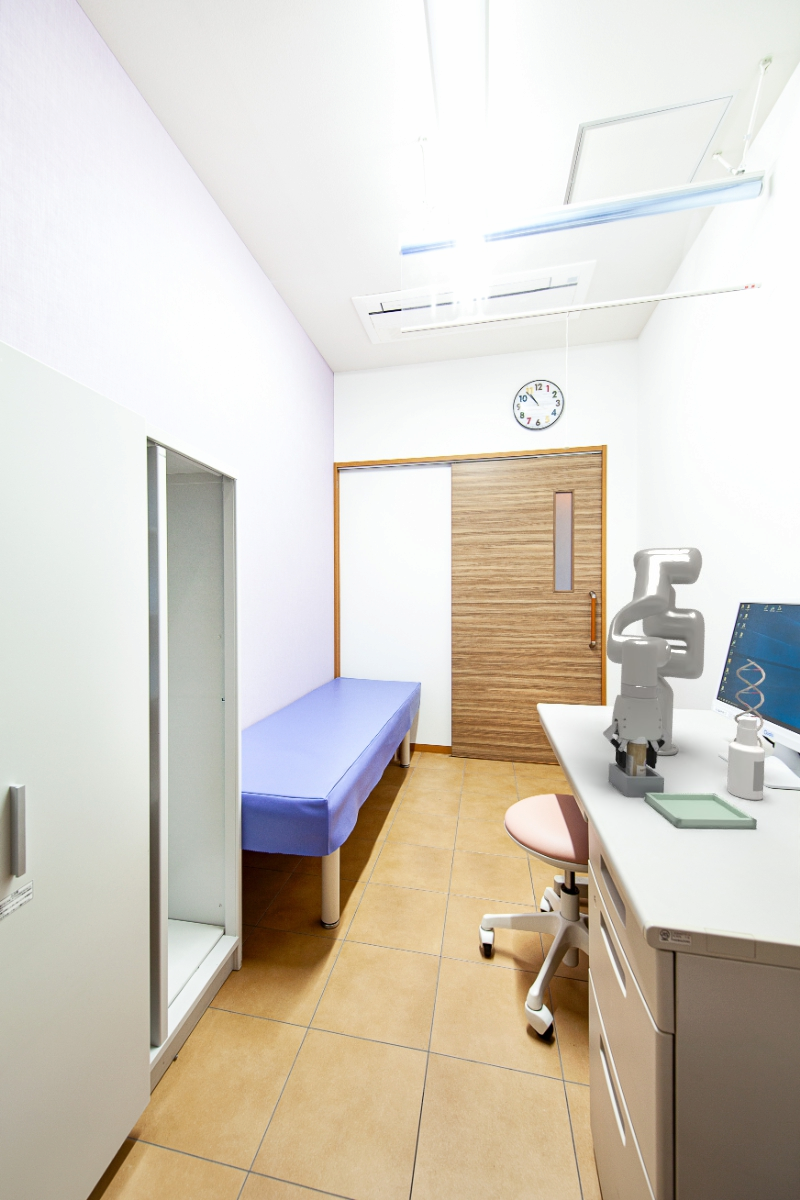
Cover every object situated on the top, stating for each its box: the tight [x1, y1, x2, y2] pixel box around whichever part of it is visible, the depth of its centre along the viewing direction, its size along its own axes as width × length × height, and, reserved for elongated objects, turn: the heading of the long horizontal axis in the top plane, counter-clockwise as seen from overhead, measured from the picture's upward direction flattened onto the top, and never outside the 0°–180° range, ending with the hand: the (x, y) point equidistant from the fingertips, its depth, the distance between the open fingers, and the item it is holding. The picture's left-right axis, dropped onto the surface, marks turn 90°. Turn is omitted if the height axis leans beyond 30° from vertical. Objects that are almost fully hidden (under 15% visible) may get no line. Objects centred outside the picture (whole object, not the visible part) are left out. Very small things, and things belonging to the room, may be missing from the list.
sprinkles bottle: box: [625, 737, 647, 776], centre depth 110 cm, size 5×5×13 cm
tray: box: [644, 792, 758, 830], centre depth 99 cm, size 12×16×2 cm
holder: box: [608, 762, 665, 798], centre depth 111 cm, size 9×9×4 cm
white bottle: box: [726, 715, 766, 801], centre depth 109 cm, size 7×7×18 cm
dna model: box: [733, 658, 766, 748], centre depth 120 cm, size 7×6×30 cm
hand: (635, 765), depth 111 cm, fingers open, 6 cm apart
